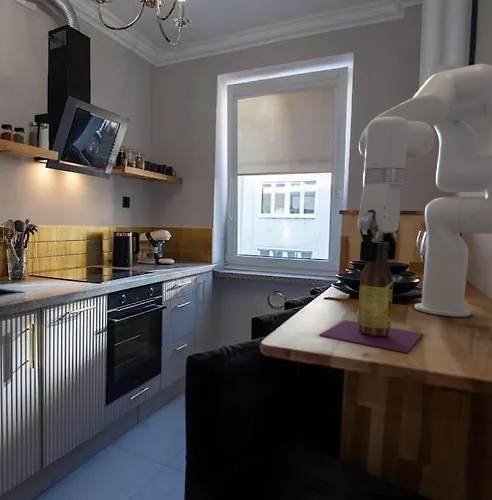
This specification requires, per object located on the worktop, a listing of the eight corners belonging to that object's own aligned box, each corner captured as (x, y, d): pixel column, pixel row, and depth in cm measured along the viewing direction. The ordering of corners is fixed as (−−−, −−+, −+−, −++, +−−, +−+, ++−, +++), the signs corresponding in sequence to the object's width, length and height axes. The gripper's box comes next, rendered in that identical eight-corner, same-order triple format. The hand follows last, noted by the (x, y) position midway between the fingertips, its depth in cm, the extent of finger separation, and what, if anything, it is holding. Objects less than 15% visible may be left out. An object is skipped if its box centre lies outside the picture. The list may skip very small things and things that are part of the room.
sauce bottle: (394, 339, 88) (401, 243, 86) (361, 336, 89) (368, 242, 87) (383, 330, 94) (389, 241, 93) (353, 328, 95) (359, 240, 94)
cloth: (345, 321, 103) (345, 320, 103) (422, 334, 93) (422, 333, 93) (319, 335, 90) (319, 334, 90) (406, 353, 79) (407, 352, 79)
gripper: (380, 182, 97) (375, 256, 99) (347, 176, 86) (341, 260, 87) (417, 181, 91) (411, 259, 93) (387, 174, 80) (380, 264, 82)
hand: (377, 260), depth 90 cm, fingers open, 9 cm apart
